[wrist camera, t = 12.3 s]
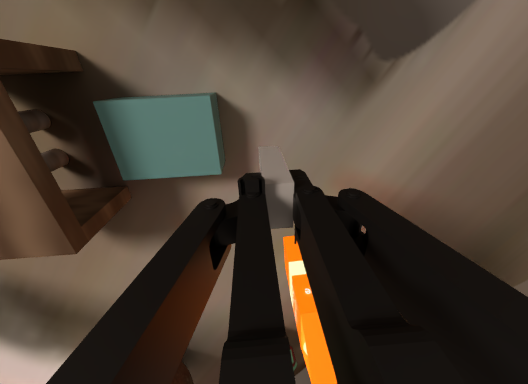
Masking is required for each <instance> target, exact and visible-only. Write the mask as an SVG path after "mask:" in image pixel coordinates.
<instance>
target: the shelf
mask: <svg viewBox="0 0 528 384" xmlns="http://www.w3.org/2000/svg"><path fill="white" fill-rule="evenodd" d="M77 71H83V70H82V67H81V64H80V62H79V59H78V57H77V54H76V51H73V50H67V49H61V48H54V47H48V46H42V45H35V44H29V43H23V42H16V41H10V40H4V39H0V75H13V74H34V73H56V72H77ZM50 124H51V122H50V119H49V117H48V116H47V115H46V114H45V113H44V112H42V111H40V110H37V109H33V110H26V111H19V112H17V110H16V108H15V106H14V104H13V102H12V101H11V99H10V97H9V95H8V93H7V92H6V90H5V88H4V86H3V84H2V82H1V81H0V260H3V259H16V258H30V257H43V256H56V255H70V254H77V253H78V252H79V251H80V250H81V249H82V248H83V247H84V246H85V245H86V244H87V243H88V242H89V241H90V240H91V239H92V238H93V237H94V236H95V235H96V233H97V232H98V231H99V230H100V229H101V228H102V227H103V226H104V225H105V224H106V223H107V222H108V221H109V220H110V219H111V218H112V217H113V216H114V215H115V214H116V213H117V212H118V211H119V210H120V209H121V208H122V207H123V206H124V205H125V204H126V203H127V202H128V201H129V200H130V199H131V195H130V192H129V190H128V187H127V186H121V187H106V188H91V189H75V190H60V188H59V186H58V184H57V182H56V181H55V179H54V177H53V175H52V173H51V172H52V171H54V170H56V169H58V168H60V167H62V166H64V165H66V164H68V162H69V158H68V156H67V154H66V153H65V152H63V151H62V150H60V149H51V150H49V151H46V152H43V153H40V151H39V150H38V148H37V146H36V144H35V142H34V141H33V139H32V137H31V135H30V133H31V132H35V131H39V130H43V129H47V128H49V127H50Z"/></svg>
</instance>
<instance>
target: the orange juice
mask: <svg viewBox="0 0 528 384" xmlns="http://www.w3.org/2000/svg"><path fill="white" fill-rule="evenodd" d="M283 239H284V255H285V268H286V273H287V278H288V284H289V289H290V295H291V301H292V306H293V309H294V315H295V320H296V325H297V330H298V335H299V341H300V346H301V349H302V352H303V355H304V359H305V362H306V366H307V369H308V373H309V376H310V380H311V383H312V384H337V380H336V376H335V372H334V369H333V365H332V362H331V358H330V355H329V351H328V348H327V344H326V341H325V337H324V334H323V330H322V327H321V323H320V320H319V316H318V313H317V309H316V306H315V302H314V299H313V295H312V292H311V288H310V285H309V281H308V278H307V274H306V271H305V267H304V264H303V260H302V257H301V253H300V250H299V246H298V243H296V244H294V239H295V236H289V237H283Z"/></svg>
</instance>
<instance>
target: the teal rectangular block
mask: <svg viewBox="0 0 528 384" xmlns="http://www.w3.org/2000/svg"><path fill="white" fill-rule="evenodd" d="M93 103H94V106H95V109H96V111H97V114H98V116H99V119H100V122H101V124H102V127H103V129H104V132H105V134H106V137H107V140H108V142H109V145H110V147H111V150H112V152H113V155H114V158H115V160H116V163H117V165H118V168H119V171H120V173H121V176H122V178H123V181H124V180H140V179H155V178H171V177H186V176H202V175H217V174H222V170H223V167H224V163H225V155H224V148H223V140H222V133H221V126H220V118H219V111H218V103H217V96H216V93H199V94H180V95H161V96H141V97H122V98H113V99H106V100H100V101H93Z"/></svg>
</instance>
